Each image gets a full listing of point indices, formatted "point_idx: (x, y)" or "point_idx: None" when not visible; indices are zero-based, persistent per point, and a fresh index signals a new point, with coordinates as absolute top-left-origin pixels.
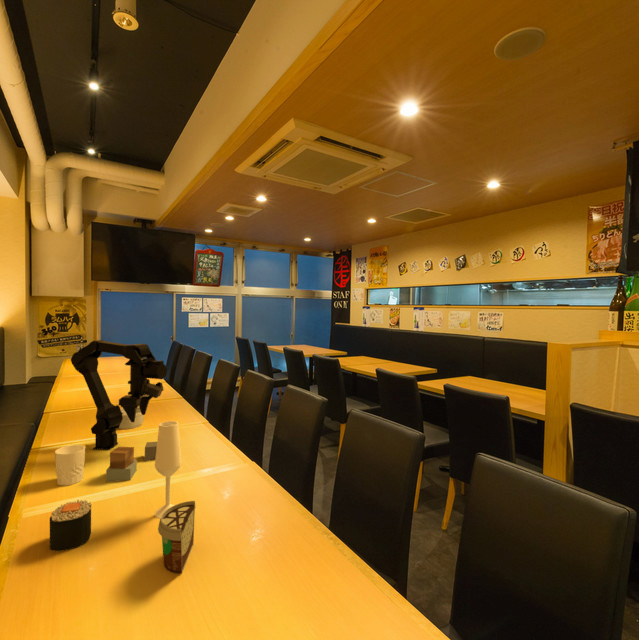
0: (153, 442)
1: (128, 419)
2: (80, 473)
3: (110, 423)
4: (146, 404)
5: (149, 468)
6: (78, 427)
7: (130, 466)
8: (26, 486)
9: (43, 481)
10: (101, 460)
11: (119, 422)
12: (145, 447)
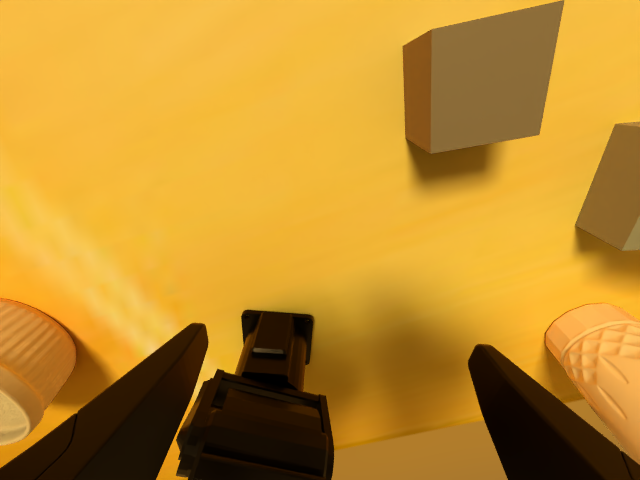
0: (447, 98)
1: (25, 366)
2: (635, 324)
3: (323, 437)
4: (97, 463)
5: (622, 52)
6: None
7: None
8: (565, 400)
9: (548, 382)
10: (421, 305)
11: (245, 402)
12: (538, 129)
